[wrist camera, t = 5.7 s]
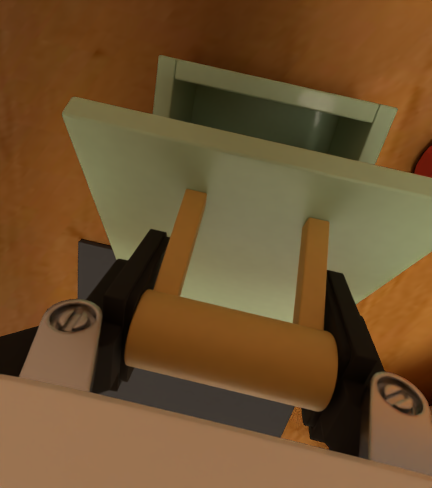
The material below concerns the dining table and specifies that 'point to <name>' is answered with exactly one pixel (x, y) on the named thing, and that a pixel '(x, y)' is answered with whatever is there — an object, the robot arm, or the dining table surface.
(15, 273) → the dining table surface
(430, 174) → the beer can
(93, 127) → the lid
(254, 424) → the felt mat
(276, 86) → the chest
